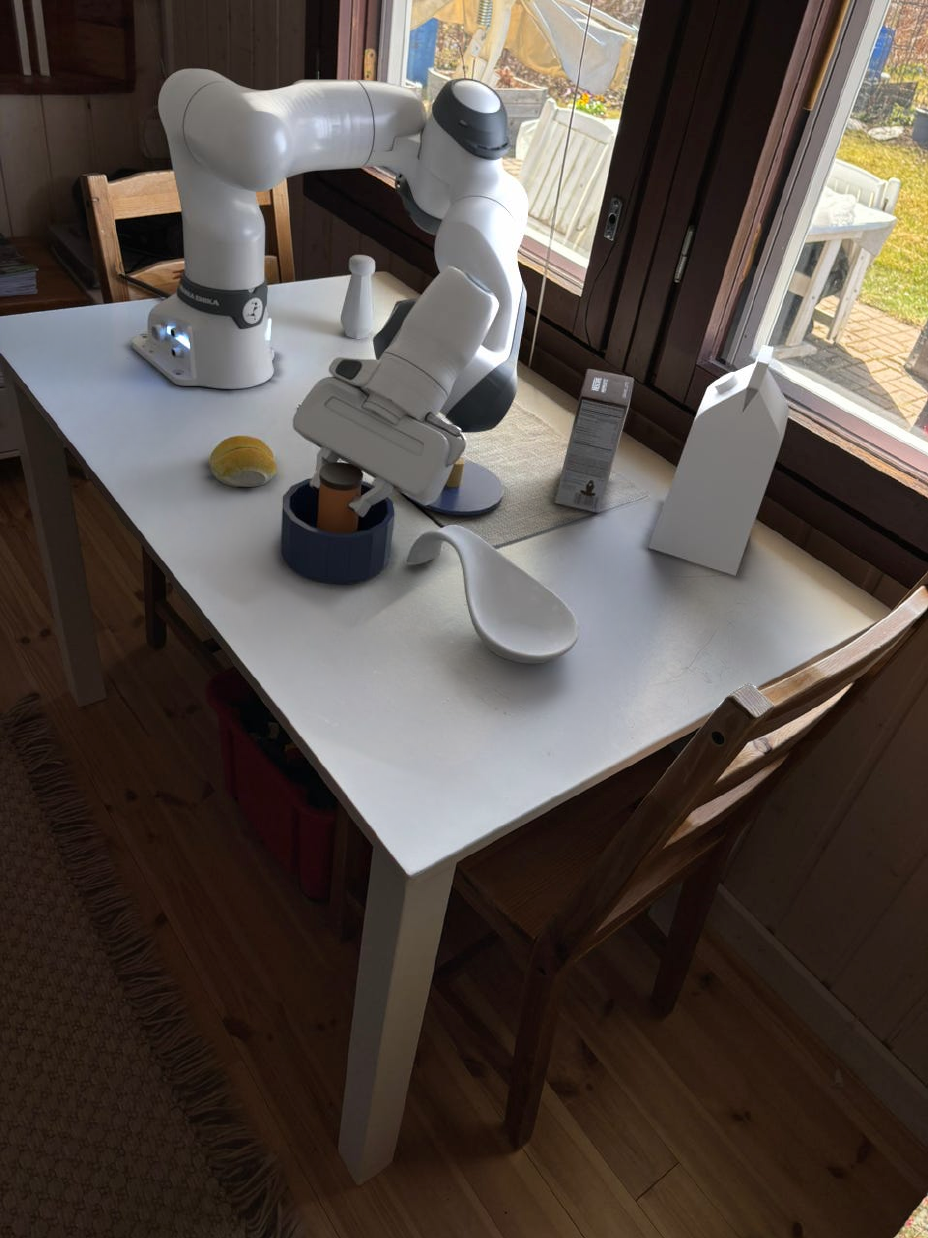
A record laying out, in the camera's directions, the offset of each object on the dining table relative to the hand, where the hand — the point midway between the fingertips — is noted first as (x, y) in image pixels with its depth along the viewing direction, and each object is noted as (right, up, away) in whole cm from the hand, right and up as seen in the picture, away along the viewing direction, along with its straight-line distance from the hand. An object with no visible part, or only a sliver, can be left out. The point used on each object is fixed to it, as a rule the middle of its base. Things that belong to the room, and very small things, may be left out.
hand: (335, 501), depth 107 cm
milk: (+46, -3, +20) cm, 50 cm away
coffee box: (+30, +4, +24) cm, 39 cm away
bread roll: (-14, +6, +16) cm, 22 cm away
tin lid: (+13, +4, +19) cm, 24 cm away
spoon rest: (+17, -13, 0) cm, 21 cm away
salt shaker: (-4, +35, +55) cm, 65 cm away
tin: (-1, -5, +5) cm, 7 cm away
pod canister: (0, -3, +3) cm, 4 cm away
